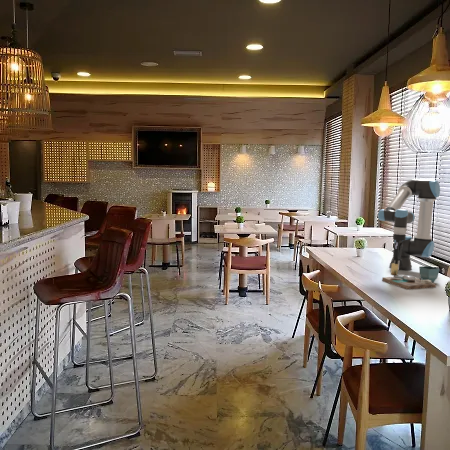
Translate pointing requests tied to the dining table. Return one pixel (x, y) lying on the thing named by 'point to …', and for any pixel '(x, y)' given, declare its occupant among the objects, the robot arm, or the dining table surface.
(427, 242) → the robot arm
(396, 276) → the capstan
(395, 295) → the dining table surface
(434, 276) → the flower pot
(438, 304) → the dining table surface
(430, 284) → the base plate
